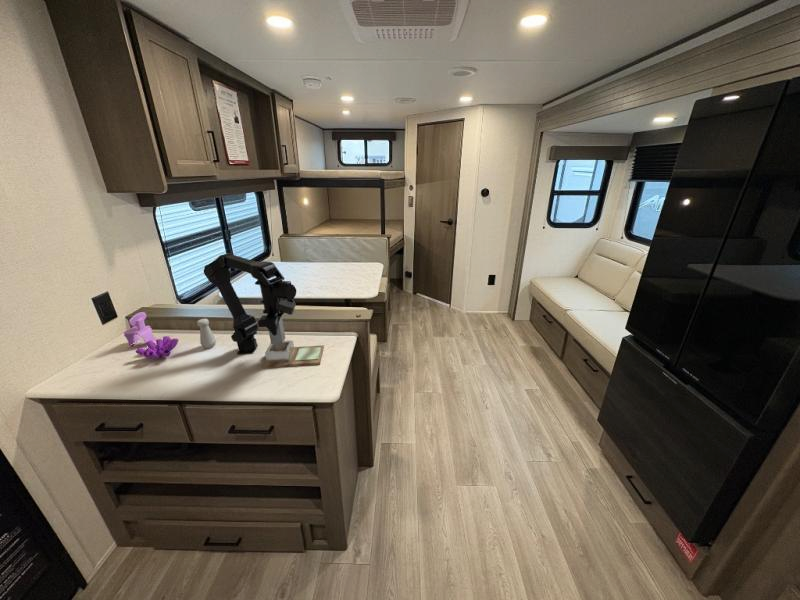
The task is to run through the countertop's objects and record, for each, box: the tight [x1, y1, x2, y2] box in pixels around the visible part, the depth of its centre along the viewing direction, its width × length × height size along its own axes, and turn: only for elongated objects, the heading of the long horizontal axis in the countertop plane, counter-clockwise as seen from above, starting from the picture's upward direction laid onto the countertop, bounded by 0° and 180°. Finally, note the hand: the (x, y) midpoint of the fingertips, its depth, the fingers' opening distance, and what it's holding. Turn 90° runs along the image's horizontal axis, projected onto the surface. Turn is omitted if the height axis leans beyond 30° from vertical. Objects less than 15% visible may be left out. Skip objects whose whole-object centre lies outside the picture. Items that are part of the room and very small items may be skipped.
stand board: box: [262, 345, 325, 369], centre depth 127 cm, size 22×13×1 cm, turn 96°
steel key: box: [268, 315, 286, 344], centre depth 121 cm, size 4×4×10 cm
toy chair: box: [123, 311, 158, 347], centre depth 135 cm, size 8×9×15 cm
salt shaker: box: [196, 318, 217, 350], centre depth 132 cm, size 6×6×13 cm
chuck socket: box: [264, 340, 295, 363], centre depth 125 cm, size 9×9×4 cm
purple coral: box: [135, 335, 179, 359], centre depth 127 cm, size 11×15×10 cm
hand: (276, 332), depth 122 cm, fingers closed on steel key, 4 cm apart
